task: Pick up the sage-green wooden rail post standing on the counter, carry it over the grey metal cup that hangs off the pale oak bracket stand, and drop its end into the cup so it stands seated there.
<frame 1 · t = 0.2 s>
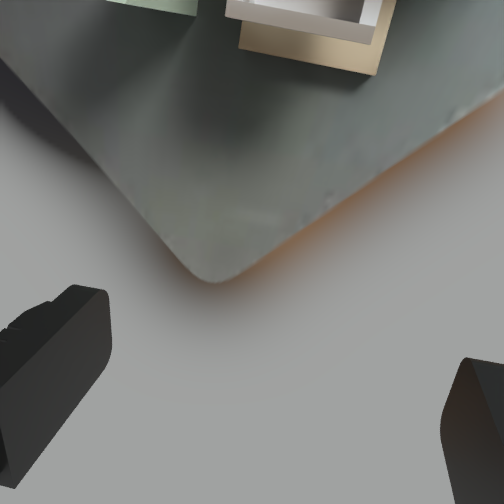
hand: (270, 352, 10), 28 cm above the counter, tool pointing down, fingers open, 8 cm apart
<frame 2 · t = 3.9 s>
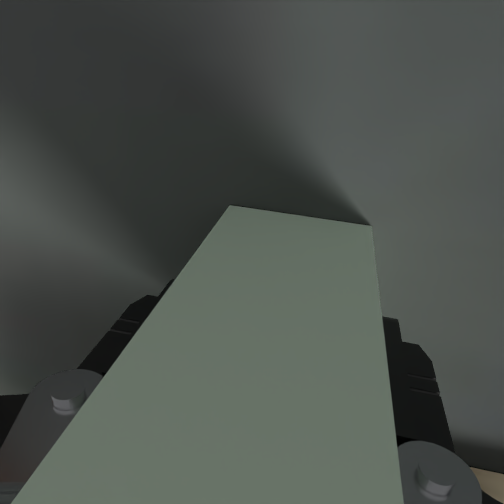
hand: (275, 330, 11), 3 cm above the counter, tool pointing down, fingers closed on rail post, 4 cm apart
rail post: (290, 277, 13), on the counter, touching gripper
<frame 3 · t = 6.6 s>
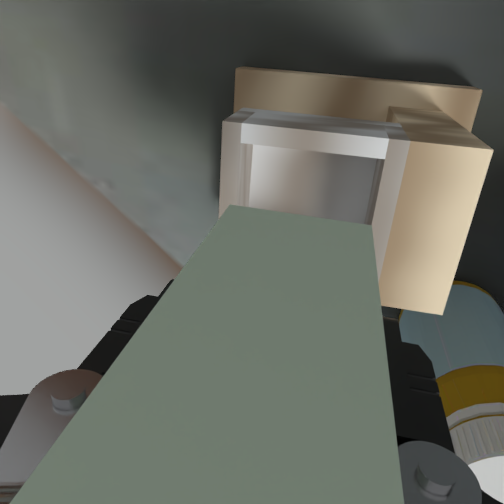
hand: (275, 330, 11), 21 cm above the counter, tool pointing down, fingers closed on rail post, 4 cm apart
bottle: (446, 316, 33), on the counter
rail post: (290, 276, 13), point 18 cm above the counter, touching gripper
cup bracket: (318, 154, 30), on the counter
when the fingers open (13 cm above the counter, at t = 9.6 s): rail post drops 1 cm, resting on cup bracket.
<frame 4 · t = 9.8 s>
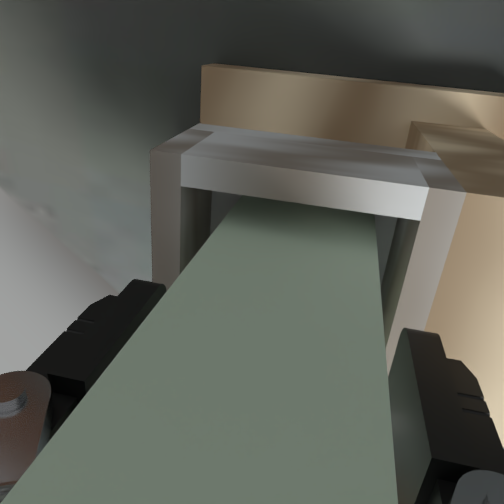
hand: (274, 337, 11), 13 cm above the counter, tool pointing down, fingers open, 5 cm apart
rail post: (299, 258, 15), point 9 cm above the counter, touching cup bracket
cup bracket: (314, 180, 23), on the counter
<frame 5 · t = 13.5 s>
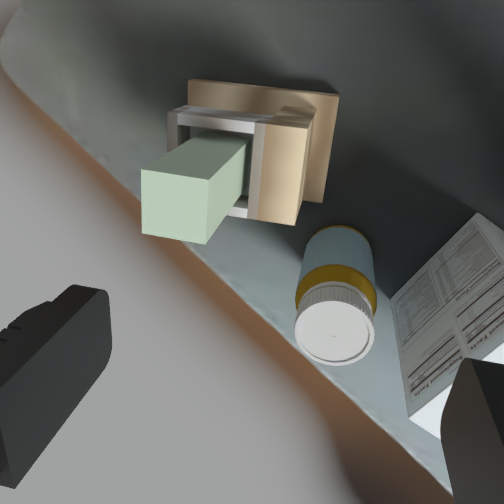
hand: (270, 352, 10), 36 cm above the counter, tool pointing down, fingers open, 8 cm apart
bottle: (338, 252, 48), on the counter
rail post: (225, 159, 37), point 9 cm above the counter, touching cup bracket
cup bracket: (246, 137, 45), on the counter
supplement box: (478, 291, 47), on the counter
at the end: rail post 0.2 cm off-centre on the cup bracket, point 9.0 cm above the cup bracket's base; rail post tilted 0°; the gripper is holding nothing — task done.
